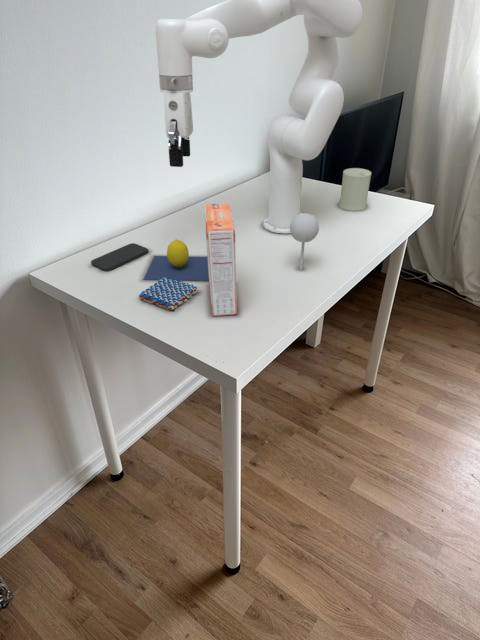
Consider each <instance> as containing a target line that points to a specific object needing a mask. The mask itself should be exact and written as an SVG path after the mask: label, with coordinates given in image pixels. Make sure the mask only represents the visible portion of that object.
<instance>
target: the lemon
mask: <svg viewBox="0 0 480 640" xmlns="http://www.w3.org/2000/svg"><path fill="white" fill-rule="evenodd" d="M189 253H190V252H189V249H188V246H187V244H186V243H185V242H184V241H183V240H180V239H178V238H176V239H174V240H172V241H171V242H170V243H169V244H168V245H167V249H166V256H167V257H168V260H169V262H170V263H171V264H172V265H173V266H176V267H178V268H180V267H181V266H183V265H185V264H186V262H187V261H188V257H190V256H189V255H190V254H189Z"/></svg>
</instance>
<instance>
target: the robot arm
mask: <svg viewBox="0 0 480 640" xmlns="http://www.w3.org/2000/svg"><path fill="white" fill-rule="evenodd" d="M363 11H364V10H363V7H362V4H361V1H360V0H225V1H221V2H219V3H217V4H214V5H212V6H209V7H207V8H204V9H202V10H200V11H198V12H196V13H194V14H192V15H190V16H188V17H186V18H185V19H184V18H159V19H157V21H156V23H155V39H156V41H155V42H156V53H157V54H156V55H157V65H158V67H157V68H158V81H159V82H158V83H159V91H160V92H161V93H164V94H163V95H164V102H163V103H164V120H165V121H164V122H165V123H164V124H165V134H166V137H167V138H168V141H167V142H168V160H169V166H170V167H171V168H172V167H173V168H175V167H176V168H183V166H184V157H188V158H189V157H190V156H191V140H190V136H191V135H192V134H193V132H194V122H193V121H194V120H193V108H192V100H191V99H192V98H191V97H192V96H191V93H193V92H194V81H193V80H194V79H193V57H198V58H204V59H215V58H218V57H219V56H221V55H223V54H224V52H226V51H227V48H228V45H229V40H230V39H234V38H242V37H243V38H244V37H250V36H255V35H260V34H262V33H265V32H267V31H268V30H270V29H272V28H274V27H276V26H278V25H280V24H282V23H284V22H286V21H288V20H290V19H292V18H293V17H297V16H301V15H302V16H303V26H304V30H305V32H306V36H307V44H308V47H307V48H308V49H307V54H306V57H305V59H304V61H303V65H302V67H301V69H300V71H299V73H298V76H297V78H296V80H295V82H294V84H293V87H292V89H291V91H290V94H289V96H288V97H289V98H288V104H289V107H290V109H291V110H292V111H293V112H294V113H296V114H298V115H300V116H304V117H305V119H302V118H299V117H295V116H292V115H291V116H290V115H281V116H278V117H276V118H274V119H273V121H272V122H270V125H269V127H268V130H267V146H268V152H269V153H268V154H269V187H268V188H269V190H268V216H267V217H265V219H263V224H262V225H263V227H264V229H265V230H267V231H269V232H271V233H276V234H282V235H283V234H291V232H290V224H291V222H292V220H293V219H294V217H296V216H297V215H299V214H302V213H303V212H302V211H301V201H302V186H303V184H302V182H303V173H304V168H303V167H304V165H303V161H312V160H314V159H315V158H317V157H318V156H319V155H320V154H321V152H322V151H323V150H324V148H325V146H326V144H327V142H328V140H329V138H330V136H331V134H332V132H333V130H334V128H335V125H336V124H337V122H338V120H339V118H340V116H341V113H342V110H343V108H344V102H345V100H344V99H345V94H344V90H343V88H342V86H341V85H340V83H338V82H337V81H335V80H333V77H334V74H335V72H336V69H337V67H338V63H339V48H338V43H337V38H338V39H339V38H340V39H344V38H349V37H351V36H353V35H354V34H355V33H357V32H358V30H359V29H360V27H361V25H362V22H363V18H364V13H363ZM313 216H314V217H315V215H313ZM315 218H316V217H315Z"/></svg>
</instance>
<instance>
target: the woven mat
mask: <svg viewBox="0 0 480 640" xmlns="http://www.w3.org/2000/svg"><path fill="white" fill-rule="evenodd" d="M168 279H169V280H168ZM197 289H198V287H197V286H195V285H194V284H191V283H190V284H189V283H188V282H184V281H178V280H177V279H176V280H175V279H173V278H171V279H170V278H167V276H166V277H165V278H162V280H156V282H154V283H153V284H152V285H150V286H149V287H147V288H146V289H145V290H142V291H141V293H140V294H139V295H138V297H139V299H141V300H142V301H145V302H147V303H150V304H153V305H157V306H158V307H161V308H163V309H166V310H171V311H173V310H174V309H177V308H178V306H180V305H182V304H183V303H184V302H185V303H188V299H189V298H191V299H192V297H193V295H195V294H198V290H197Z"/></svg>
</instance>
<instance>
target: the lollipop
mask: <svg viewBox="0 0 480 640" xmlns="http://www.w3.org/2000/svg"><path fill="white" fill-rule="evenodd" d="M301 213H302V214H299V215H297V216H296V217H294V219H293V220H292V222H291V224H290V232H291V233H290V235H291V237H292V238H293V239H294V240H295V241H297V242H299V243H301V247H300V248H301V250H300V262H299V269H300V270H303V268H304V267H303V266H304V265H303V264H304V256H305V255H304V254H305V243H309V242H311V241H313V240H314V239H316V237H317V236H318V234H319V232H320V231H319V230H320V223H319V221H318V219H317V218H316V217H314V216H315V215H313V214H312V213H308V212H307V213H306V212H304V213H303V212H301Z"/></svg>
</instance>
